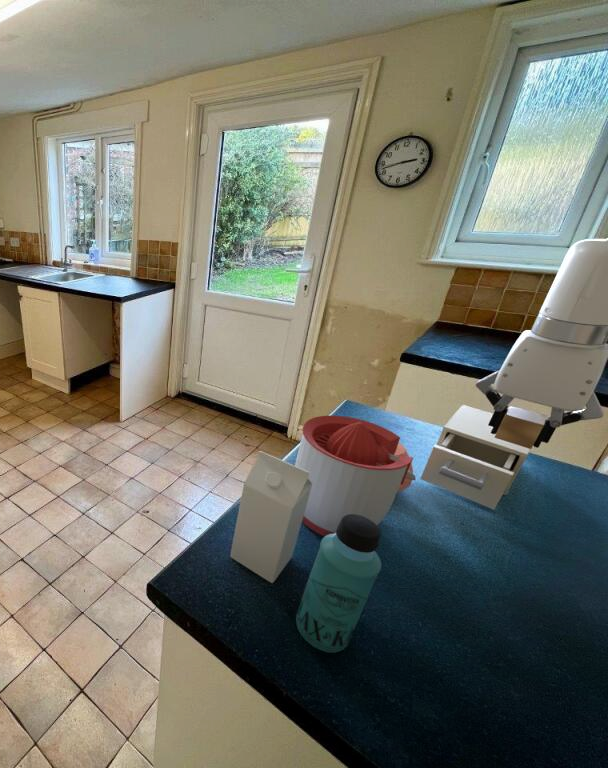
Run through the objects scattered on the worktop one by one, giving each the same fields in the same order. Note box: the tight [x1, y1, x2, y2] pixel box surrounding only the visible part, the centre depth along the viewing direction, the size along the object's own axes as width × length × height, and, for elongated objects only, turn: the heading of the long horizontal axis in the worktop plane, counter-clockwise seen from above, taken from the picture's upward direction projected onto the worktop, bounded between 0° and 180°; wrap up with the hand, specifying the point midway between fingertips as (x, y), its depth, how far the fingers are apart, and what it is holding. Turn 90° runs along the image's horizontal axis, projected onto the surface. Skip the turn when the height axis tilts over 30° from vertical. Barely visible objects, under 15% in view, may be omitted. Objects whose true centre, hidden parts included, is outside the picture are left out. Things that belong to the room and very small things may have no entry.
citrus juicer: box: [294, 415, 416, 537], centre depth 70 cm, size 16×17×20 cm
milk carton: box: [229, 450, 312, 584], centre depth 63 cm, size 7×7×19 cm
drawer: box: [420, 433, 516, 510], centre depth 79 cm, size 19×11×8 cm, turn 130°
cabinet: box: [435, 404, 531, 496], centre depth 86 cm, size 15×13×10 cm
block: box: [494, 405, 548, 450], centre depth 66 cm, size 4×4×4 cm
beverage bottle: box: [295, 514, 382, 654], centre depth 51 cm, size 6×7×20 cm
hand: (515, 436), depth 67 cm, fingers closed on block, 4 cm apart
